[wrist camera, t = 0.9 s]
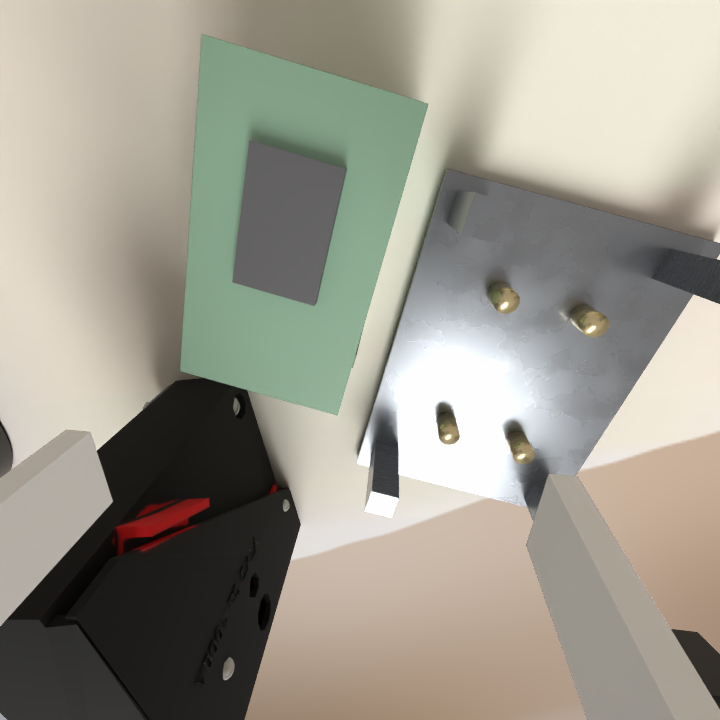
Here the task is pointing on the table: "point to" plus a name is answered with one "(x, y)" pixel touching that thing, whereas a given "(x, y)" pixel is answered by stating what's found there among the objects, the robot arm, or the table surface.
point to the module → (288, 221)
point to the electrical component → (161, 575)
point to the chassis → (522, 339)
